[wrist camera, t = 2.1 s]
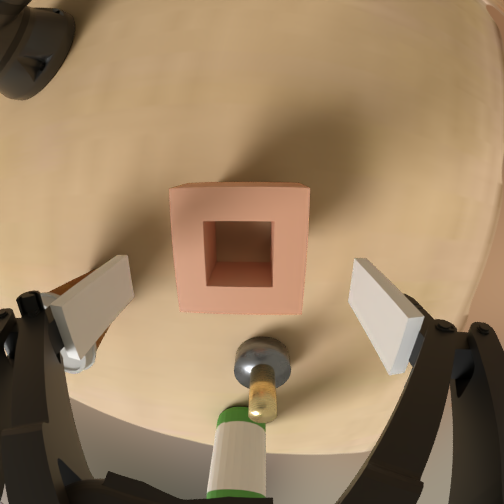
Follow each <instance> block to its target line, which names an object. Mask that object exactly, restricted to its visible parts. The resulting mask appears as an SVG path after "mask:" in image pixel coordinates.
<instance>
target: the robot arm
mask: <svg viewBox="0 0 504 504" xmlns="http://www.w3.org/2000/svg"><path fill="white" fill-rule="evenodd" d="M31 1H32V0H0V93H1V94H3V95H4V96H6V97H7V98H10V99H15V100H26V99H29V98H31V97H33V96H34V95H36V94H37V93H38V92H39V91H41V90H42V89H43V88H44V87H45V86H46V85H47V84H48V82H49V81H50V80H51V79H52V78H53V76H54V75H55V73H56V72H57V71H58V69H59V68H60V66H61V64H62V63H63V61H64V59H65V57H66V55H67V53H68V51H69V49H70V46H71V44H72V41H73V37H74V32H75V22H74V19H73V17H72V16H71V15H70V14H68V13H67V12H65V11H63V10H61V9H56V8H32V7H28V6H27V5H28V4H29V3H30V2H31ZM133 298H134V291H133V286H132V280H131V273H130V267H129V260H128V255H116V256H115V257H113V258H112V259H111V260H109V261H108V262H106V263H105V264H103V265H102V266H101V267H99V268H98V269H96V270H95V271H94V272H92V273H91V274H89V275H88V276H87V277H85V278H84V279H82V280H81V281H80V282H78V283H77V284H76V285H74V286H73V287H72V288H70V289H69V290H68V291H66V292H65V293H64V294H62V295H61V296H60V297H59V298H57V299H56V300H55V301H53V302H52V303H51V304H50V306H48V307H47V308H46V309H45V308H44V305H43V302H42V298H41V295H40V292H39V291H29V292H25V293H23V294H21V295H20V296H19V297H18V298H17V299H16V301H17V304H18V307H19V310H20V313H21V316H22V318H15V315H14V313H13V310H12V309H10V308H6V309H1V310H0V501H1V497H2V494H3V489H4V484H5V485H6V492H7V497H8V502H9V504H273V498H249V497H230V496H228V497H219V498H209V499H194V500H183V499H179V498H176V497H174V496H172V495H170V494H167V493H165V492H163V491H161V490H159V489H156V488H154V487H152V486H150V485H148V484H146V483H144V482H142V481H138V480H134V479H131V478H128V477H125V476H121V475H118V474H115V473H113V472H110V471H108V473H107V475H106V478H105V479H94V477H93V476H92V474H91V472H90V470H89V468H88V465H87V462H86V460H85V456H84V453H83V450H82V447H81V444H80V441H79V437H78V433H77V429H76V426H75V422H74V418H73V413H72V409H71V404H70V399H69V394H68V389H67V383H66V377H65V370H64V363H63V357H62V355H61V352H60V351H61V350H62V349H63V348H64V347H65V350H66V352H67V355H68V357H69V358H73V359H77V360H80V361H81V359H82V358H83V357H84V356H85V354H86V353H87V352H88V351H89V349H90V348H91V347H92V346H93V345H94V343H95V342H96V341H97V340H98V338H99V337H100V336H101V335H102V334H103V333H104V331H105V330H106V329H107V328H108V327H109V325H110V324H111V323H112V322H113V321H114V320H115V318H116V317H117V316H118V315H119V314H120V313H121V312H122V310H123V309H124V308H125V307H126V306H127V305H128V304H129V302H130V301H131V300H132V299H133ZM348 303H349V304H350V306H351V308H352V309H353V311H354V313H355V315H356V316H357V318H358V320H359V322H360V323H361V325H362V327H363V329H364V330H365V332H366V334H367V336H368V337H369V339H370V341H371V343H372V345H373V346H374V348H375V350H376V352H377V354H378V356H379V357H380V359H381V361H382V363H383V365H384V367H385V369H386V371H387V372H388V374H389V375H394V374H399V373H404V372H405V370H406V367H407V365H408V362H410V364H411V365H412V367H413V368H412V370H411V373H410V375H409V377H408V380H407V382H406V384H405V386H404V389H403V392H402V394H401V396H400V398H399V401H398V403H397V405H396V407H395V409H394V411H393V413H392V415H391V417H390V419H389V421H388V423H387V425H386V427H385V429H384V430H383V432H382V434H381V436H380V438H379V439H378V441H377V443H376V445H375V446H374V448H373V450H372V451H371V453H370V455H369V456H368V458H367V459H366V461H365V463H364V464H363V466H362V467H361V469H360V470H359V472H358V473H357V475H356V476H355V478H354V479H353V480H352V482H351V483H350V485H349V486H348V487H347V489H346V490H345V492H344V493H343V494H342V496H341V497H340V498H339V499H338V501H337V502H336V503H335V504H416V503H417V501H418V499H419V497H420V495H421V492H422V489H423V484H424V483H423V482H421V481H420V479H421V476H422V473H423V471H424V468H425V466H426V463H427V461H428V458H429V455H430V453H431V450H432V447H433V444H434V441H435V438H436V435H437V432H438V429H439V425H440V422H441V418H442V415H443V411H444V406H445V403H446V399H447V394H448V389H449V385H450V390H451V401H452V416H453V465H452V478H451V489H450V496H449V503H448V504H504V351H503V349H502V346H501V344H500V342H499V339H498V337H497V335H496V333H495V331H494V330H493V328H492V327H490V326H489V325H488V324H486V323H481V322H474V323H472V325H471V327H470V329H469V332H468V333H467V332H457V328H456V327H455V326H454V325H453V324H452V323H450V322H448V321H445V320H440V319H435V320H434V319H433V318H432V317H431V316H430V315H429V314H428V313H427V311H426V310H425V309H423V307H422V306H421V305H419V303H418V302H417V301H416V300H415V299H414V298H412V297H410V296H408V295H406V294H403V293H402V292H401V291H400V290H399V289H398V288H397V287H396V286H395V285H394V284H393V283H392V282H391V281H390V280H389V279H387V278H386V277H385V276H384V275H383V274H382V273H381V272H380V271H379V270H378V269H377V268H376V267H375V266H374V265H373V264H372V263H371V262H370V261H369V260H368V259H367V258H354V264H353V272H352V279H351V286H350V292H349V299H348ZM4 348H5V350H6V352H7V354H8V355H7V356H6V354H5V351H4ZM0 504H3V503H2V502H0Z"/></svg>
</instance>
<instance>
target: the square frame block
mask: <svg viewBox="0 0 504 504" xmlns="http://www.w3.org/2000/svg"><path fill="white" fill-rule="evenodd" d="M169 200H170V218H171V233H172V245H173V257H174V267H175V276H176V285H177V294H178V302H179V309H180V312H194V313H216V314H256V315H297V314H302V306H303V295H304V284H305V272H306V258H307V243H308V226H309V205H310V188H309V187H307V186H305V185H303V184H300V183H289V182H204V183H187V184H183V185H180V186H176V187H173V188H169ZM215 221H271V246H270V262H217V255H216V228H215Z"/></svg>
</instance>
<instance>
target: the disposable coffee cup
mask: <svg viewBox="0 0 504 504" xmlns="http://www.w3.org/2000/svg"><path fill="white" fill-rule="evenodd" d="M95 270H96V269H95ZM95 270H92V271H90V272H88V273H86V274H84V275H82V276H80V277H78V278H76V279H74V280H72V281H70V282H68V283H66V284H64V285H62V286H59V287H58V288H56V289H54V290H52V291H50V292H47V293H40V295H41V298H42V302H43V305H44V308H45V309H46V308H47V307H48V306H50V304H51V303H52V302H53V301H55V300H56V299H57V298H59V297H60V296H61V295H62V294H64V293H65V292H66V291H68V290H69V289H70V288H72V287H73V286H74V285H76V284H77V283H78V282H80V281H81V280H82V279H84V278H85V277H87V276H88V275H89V274H91V273H92V272H94V271H95ZM109 326H110V325H109ZM108 328H109V327H108ZM108 328H107V329H106V330H105V331H104V333H103V334H102V335H101V336H100V337H99V338H98V340H97V341H96V342H95V343H94V345H93V346H92V347H91V348H90V349H89V351H88V352H87V353H86V354H85V356H84V357H83V358H82V359H81V361H80V360H77V359H73V358H69V357H68V355H67V352H66V350H65V347H64V348H63V349H62V350H61V351H60V352H61V355H62V357H63V363H64V370H65V372H68V373H72V374H76V373H80V372H81V371H83V370H86V369H88V368H90V367H91V366H92V365H93V364H94V362H95V358H96V351H97V348H98V347H99V345H100V343H101V341H102V339H103V337H104V336H105V333H106V332H107V330H108Z"/></svg>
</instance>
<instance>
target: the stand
mask: <svg viewBox="0 0 504 504" xmlns="http://www.w3.org/2000/svg"><path fill="white" fill-rule="evenodd" d="M215 228H216V255H217V262H270V246H271V221H215Z"/></svg>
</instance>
